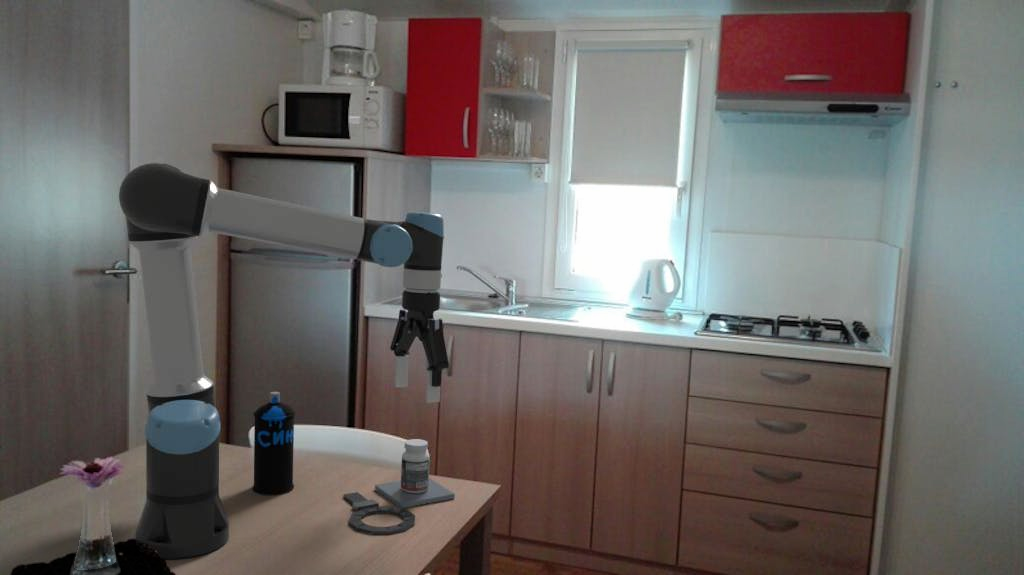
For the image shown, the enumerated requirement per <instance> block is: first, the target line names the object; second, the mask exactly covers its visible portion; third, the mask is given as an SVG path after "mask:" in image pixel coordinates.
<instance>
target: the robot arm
mask: <svg viewBox="0 0 1024 575" xmlns="http://www.w3.org/2000/svg"><path fill="white" fill-rule="evenodd" d="M118 201H119V204H120V208H121V211H122V213H123V214H124V216H125V223H126V229H127V237H128V238H127V239H128V243H129V244H130V245H132V247H134V248H136V250H137V251H138V253H139V261H140V269H141V278H142V286H143V295H144V296H143V297H144V303H145V304H144V305H145V313H146V321H147V329H148V337H149V338H148V339H149V340H148V341H149V347H150V356H151V364H152V365H151V366H152V372H153V373H152V374H153V382H152V383H151V384H150V385H149V387H148V388H146V390H145V391H146V398H147V399H146V401H147V411H148V414H147V417H146V423H145V425H144V434H145V435H144V436H145V441H146V443H145V446H146V447H145V451H146V453H145V454H146V457H145V458H146V460H145V462H146V466H145V467H146V470H145V471H146V474H145V475H146V476H145V477H146V479H145V480H146V485H145V487H146V490H145V491H146V493H145V494H146V495H145V497H146V499H145V503H144V505H143V506H144V507H143V509H142V512H141V515H140V518H139V520H138V524H137V527H136V529H135V534H134V535H135V536H134V539H135V540H137V541H140V542H142V543H145V544H147V545H148V546H149V547H151V548H153V549H154V550H156V551H157V552H158V553H159V555H160V557H161V558H160V559H163V560H165V559H166V560H167V559H168V560H169V559H170V560H173V559H174V560H175V559H176V560H177V559H187V558H192V557H193V558H194V557H197V556H202V555H205V554H208V553H212V552H213V551H214V552H215V550H218V549H220V548H221V547H223V546H224V545H225V544H226V543H227V542H228V541H229V539H230V523H229V520H228V518H227V514H226V512H225V509H224V504H223V502H222V500H221V497H220V489H219V488H220V485H219V484H220V432H221V421H220V415H219V411H218V409H217V406H216V405H217V404H216V394H215V387H214V381H213V380H212V379H210V378H209V377H208V376H206V375H205V373H204V372H205V371H204V363H203V355H202V346H201V345H202V344H201V336H200V335H201V334H200V327H199V325H200V324H199V317H198V308H197V307H198V306H197V299H196V298H197V297H196V288H195V280H194V271H193V270H194V269H193V261H192V250H191V247H192V246H193V244H194V242H195V241H196V240H197V239H198V238H199V237H203V236H204V235H206V234H208V233H213V234H219V235H224V236H229V237H234V238H235V237H236V238H240V239H244V240H245V239H246V240H251V241H255V242H256V241H257V242H261V243H267V244H273V245H278V246H282V247H288V248H293V249H298V250H304V251H310V252H314V253H319V254H325V255H331V256H336V257H340V258H345V259H346V258H347V259H352V260H357V261H361V262H365V263H371V264H377V265H379V266H381V267H386V268H397V267H399V266H401V265H403V271H402V272H403V273H402V274H403V275H402V287H403V288H404V289H405V290H403V291H402V294H401V295H402V298H401V299H402V300H401V307H402V309H399V313H398V320H397V323H396V327H395V331H394V334H393V337H392V340H391V343H390V347H389V348H390V351H392V352H393V354H394V356H395V365H394V366H395V368H394V385H393V387H394V388H397V389H398V388H408V387H409V386H408V385H409V384H408V383H409V366H410V365H409V364H410V362H409V361H410V356H409V355H410V349H411V347H412V346H413V345H412V344H413V343H414V341H415V339H416V337H417V338H418V340H419V341H420V342H421V343H422V347H423V351H424V354H425V356H426V360H427V362H428V365H429V366H428V367H427V369H426V371H427V373H426V392H425V403H426V404H433V403H440V402H441V385H442V373H443V372H442V371H443V370H445V369H448V368H449V367H450V364H449V359H448V353H447V347H446V342H445V336H444V331H443V330H444V329H443V325H444V324H443V319H442V318H434V317H435V316H434V313H435V312H436V311H439V310H440V306H441V293H440V292H439V291H438V290H440V289H441V282H442V280H441V279H442V277H443V274H442V261H443V247H444V239H445V236H444V231H445V230H444V228H445V227H444V218H443V216H442V215H441V214H440V213H436V212H435V213H434V212H420V211H419V212H418V211H416V212H415V211H409V212H407V214H406V215H405V216H406V217H405V219H404V221H393V220H392V221H391V220H390V221H389V220H375V219H374V220H373V219H368V218H364V217H358V216H354V215H349V214H345V213H341V212H340V213H339V212H335V211H329V210H325V209H320V208H315V207H311V206H307V205H301V204H297V203H292V202H287V201H283V200H277V199H272V198H268V197H264V196H258V195H254V194H249V193H244V192H239V191H235V190H230V189H224V188H221V187H218V186H217V185H216V184H215V183H214V182H213V180H210V179H207V178H203V177H198V176H194V175H191V174H188V173H185V172H183V171H182V170H180V169H179V168H177V167H176V166H173V165H171V164H167V163H159V162H153V163H152V162H151V163H146V164H143V165H139V166H136V167H134V168H133V169H132V170H131V171H129V172H128V173H127V175H126V176H125V177H124V179H123V180H122V182H121V184H120V187H119V194H118ZM135 540H134V541H135Z"/></svg>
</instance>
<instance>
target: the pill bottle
mask: <svg viewBox="0 0 1024 575" xmlns="http://www.w3.org/2000/svg"><path fill="white" fill-rule="evenodd" d="M428 446H429V443H428V441H427V440H424V439H420V438H416V439H415V438H412V439H407V440H405V441H404V449H405V451H404V452H403V453H402V455H401V468H400V470H401V471H400V472H401V473H400V480H401V489H402V490H403V491H405V492H408V493H422V492H425V491H427V490H428V487H429V478H430V467H431V466H430V463H431V458H430V453H429V452H428V451H427V450H428V448H429V447H428Z"/></svg>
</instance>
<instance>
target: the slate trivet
mask: <svg viewBox="0 0 1024 575" xmlns="http://www.w3.org/2000/svg"><path fill="white" fill-rule="evenodd" d="M375 489H376V490H377V491H376V490H375ZM374 490H375V491H376V492H378V491H379V492H380V493H379V492H378V493H379V494H381V493H382V494H383V495H384V496H383V495H382V494H381V495H382V496H383V497H385V498H386V497H387V498H388V501H390V500H391V501H390V502H391V503H393V504H394V503H395V504H394V505H396V506H397V505H398V506H399V507H398V506H397V507H398V508H403V509H407V507H408V508H413V507H417V506H416V505H418V506H421V505H420V504H423V505H427V504H426V503H429V504H434V503H439V502H444V501H448V500H454V498H455V497H456V494H455V493H454V492H453V491H451V490H449V489H448V488H446V487H445V486H443V485H441V484H440V483H438V482H437V481H435V480H433V479H432V478H430V477H429V487H428V490H427V491H425V492H422V493H408V492H405V491H403V490H402V489H401V479H400V480H396V481H395V480H394V481H391V482H390V481H389V482H384V483H378V484H375V485H374ZM387 498H386V499H387ZM438 501H439V502H438ZM433 502H434V503H433ZM412 506H413V507H412Z"/></svg>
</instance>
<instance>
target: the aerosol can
mask: <svg viewBox="0 0 1024 575" xmlns="http://www.w3.org/2000/svg"><path fill="white" fill-rule="evenodd" d="M280 394H281V393H280V392H279V391H271V392H269V402H266V403H264V404H262V405H260V406H259V407H258V408H257V409H256V410H255V411H254V412H253V413H252V414H253V417H254V433H253V434H254V436H253V437H254V438H253V440H254V441H253V449H254V450H253V451H254V452H253V456H254V457H253V486H252V491H253V492H254V493H256V494H259V495H264V496H277V495H278V496H279V495H283V494H287V493H289V492H291V491H292V490H294V488H295V484H294V438H295V437H294V434H295V433H294V432H295V431H294V430H295V416H296V411H295V410H293V408H292V407H291V406H290V405H288V404H286V403H283V402H281V400H280V398H281V395H280Z"/></svg>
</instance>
